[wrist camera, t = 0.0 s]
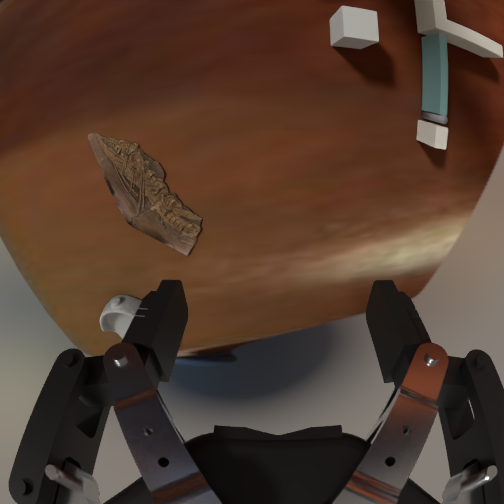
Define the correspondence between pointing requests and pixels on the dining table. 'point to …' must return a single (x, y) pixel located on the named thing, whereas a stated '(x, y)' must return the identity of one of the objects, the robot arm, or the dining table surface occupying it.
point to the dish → (119, 314)
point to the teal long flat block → (435, 78)
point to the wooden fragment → (145, 193)
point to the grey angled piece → (434, 22)
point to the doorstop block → (354, 28)
